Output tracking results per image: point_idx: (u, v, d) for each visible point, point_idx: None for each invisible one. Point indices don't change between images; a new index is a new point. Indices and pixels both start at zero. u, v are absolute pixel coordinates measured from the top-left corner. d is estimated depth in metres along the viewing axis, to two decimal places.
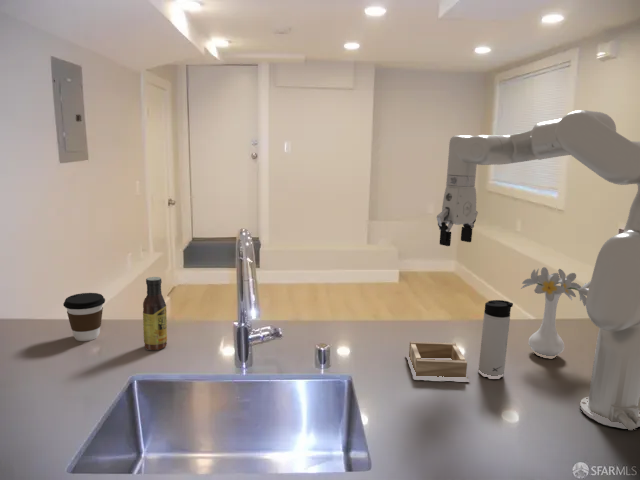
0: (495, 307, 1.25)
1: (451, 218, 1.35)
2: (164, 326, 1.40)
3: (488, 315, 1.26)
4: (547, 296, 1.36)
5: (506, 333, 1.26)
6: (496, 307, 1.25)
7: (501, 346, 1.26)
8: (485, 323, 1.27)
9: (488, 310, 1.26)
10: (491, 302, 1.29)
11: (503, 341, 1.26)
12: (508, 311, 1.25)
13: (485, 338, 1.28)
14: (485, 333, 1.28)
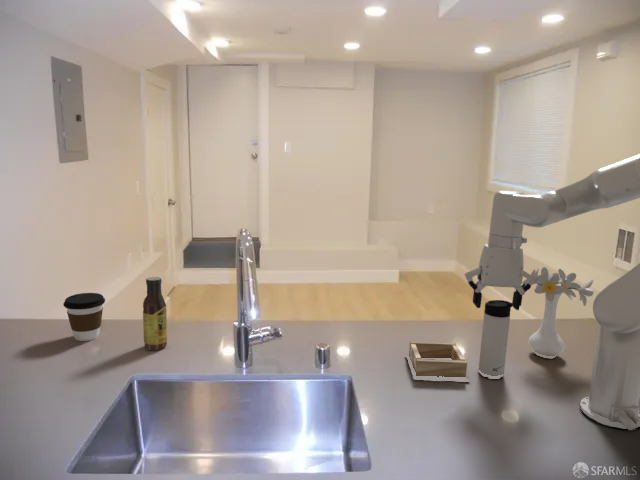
0: (495, 307, 1.25)
1: None
2: (164, 326, 1.40)
3: (488, 315, 1.26)
4: (547, 296, 1.36)
5: (506, 333, 1.26)
6: (496, 307, 1.25)
7: (501, 346, 1.26)
8: (485, 323, 1.27)
9: (488, 310, 1.26)
10: (491, 302, 1.29)
11: (502, 341, 1.26)
12: (508, 311, 1.25)
13: (484, 338, 1.28)
14: (485, 333, 1.28)
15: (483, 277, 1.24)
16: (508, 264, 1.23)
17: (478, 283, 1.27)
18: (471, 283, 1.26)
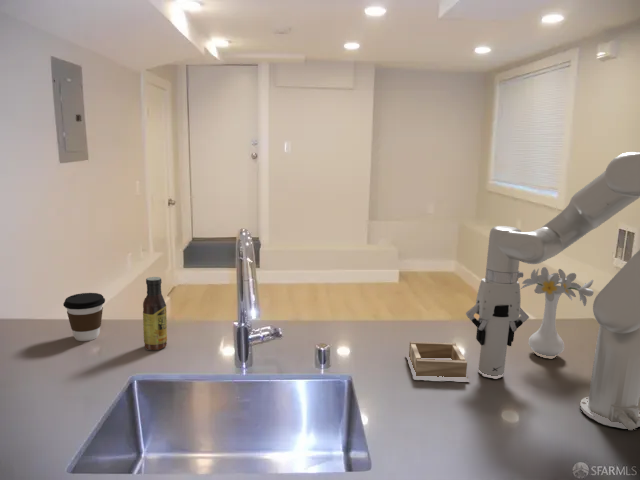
0: (495, 307, 1.25)
1: None
2: (164, 326, 1.40)
3: None
4: (547, 296, 1.36)
5: (506, 333, 1.26)
6: (496, 307, 1.25)
7: (501, 345, 1.26)
8: None
9: None
10: None
11: (503, 341, 1.26)
12: (508, 311, 1.25)
13: (485, 338, 1.28)
14: (485, 333, 1.28)
15: (480, 311, 1.26)
16: (505, 299, 1.24)
17: (480, 320, 1.29)
18: (474, 321, 1.27)
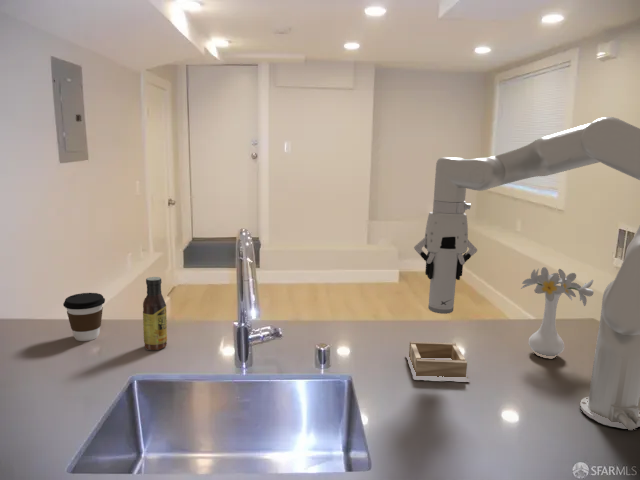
0: (442, 238, 1.24)
1: None
2: (164, 326, 1.40)
3: None
4: (547, 296, 1.36)
5: (454, 265, 1.25)
6: (443, 238, 1.24)
7: (449, 278, 1.25)
8: None
9: None
10: None
11: (451, 273, 1.25)
12: None
13: (433, 271, 1.27)
14: (433, 266, 1.26)
15: (428, 244, 1.25)
16: (452, 230, 1.23)
17: (428, 254, 1.28)
18: (422, 254, 1.26)
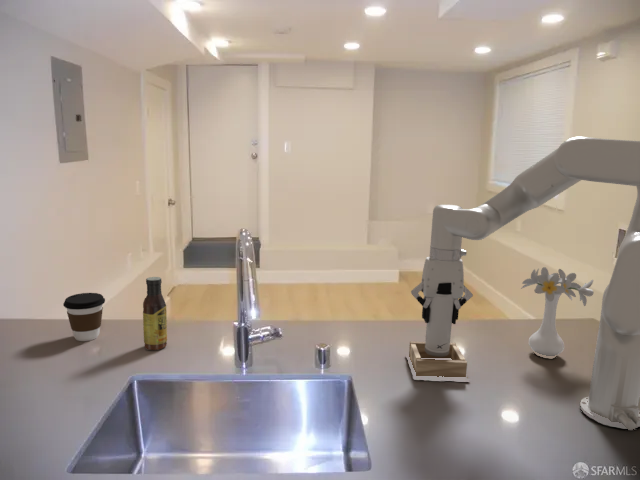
0: (438, 284, 1.26)
1: None
2: (164, 326, 1.40)
3: None
4: (547, 296, 1.36)
5: (450, 310, 1.28)
6: (439, 284, 1.26)
7: (445, 323, 1.28)
8: None
9: None
10: None
11: (446, 318, 1.27)
12: None
13: (429, 315, 1.29)
14: (430, 311, 1.29)
15: (424, 289, 1.27)
16: (448, 276, 1.25)
17: (425, 298, 1.30)
18: (419, 299, 1.28)
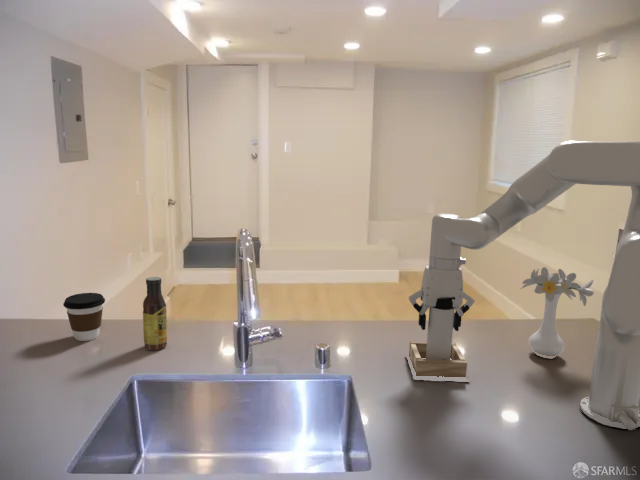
0: (439, 299, 1.27)
1: None
2: (164, 326, 1.40)
3: (432, 308, 1.28)
4: (547, 296, 1.36)
5: (450, 325, 1.28)
6: (440, 299, 1.26)
7: (445, 338, 1.28)
8: (430, 315, 1.29)
9: None
10: None
11: (447, 333, 1.28)
12: (452, 303, 1.27)
13: (430, 330, 1.30)
14: (430, 326, 1.29)
15: (424, 298, 1.27)
16: (447, 285, 1.26)
17: (422, 305, 1.31)
18: (415, 306, 1.29)
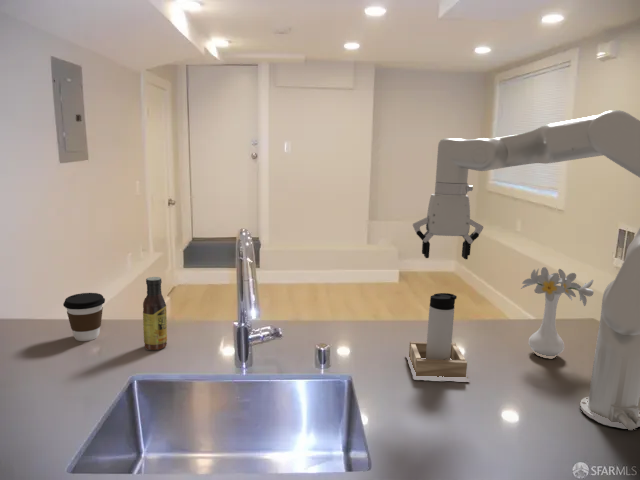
0: (438, 300, 1.26)
1: None
2: (164, 326, 1.40)
3: (432, 308, 1.28)
4: (547, 296, 1.36)
5: (450, 325, 1.28)
6: (439, 300, 1.26)
7: (445, 338, 1.28)
8: (430, 316, 1.29)
9: (432, 302, 1.28)
10: (437, 295, 1.31)
11: (447, 333, 1.28)
12: (452, 304, 1.27)
13: (430, 330, 1.30)
14: (430, 326, 1.29)
15: (430, 226, 1.24)
16: (454, 212, 1.22)
17: (426, 233, 1.27)
18: (419, 233, 1.25)
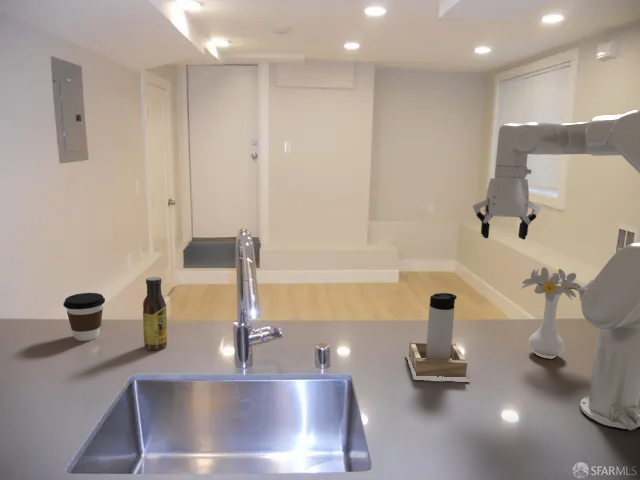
0: (438, 300, 1.27)
1: None
2: (164, 326, 1.40)
3: (432, 308, 1.28)
4: (547, 296, 1.36)
5: (450, 325, 1.28)
6: (439, 300, 1.26)
7: (445, 338, 1.28)
8: (430, 316, 1.29)
9: (432, 302, 1.28)
10: (436, 295, 1.31)
11: (447, 333, 1.28)
12: (451, 304, 1.27)
13: (430, 330, 1.30)
14: (430, 326, 1.29)
15: (490, 207, 1.30)
16: (514, 194, 1.29)
17: (486, 215, 1.34)
18: (479, 214, 1.32)
